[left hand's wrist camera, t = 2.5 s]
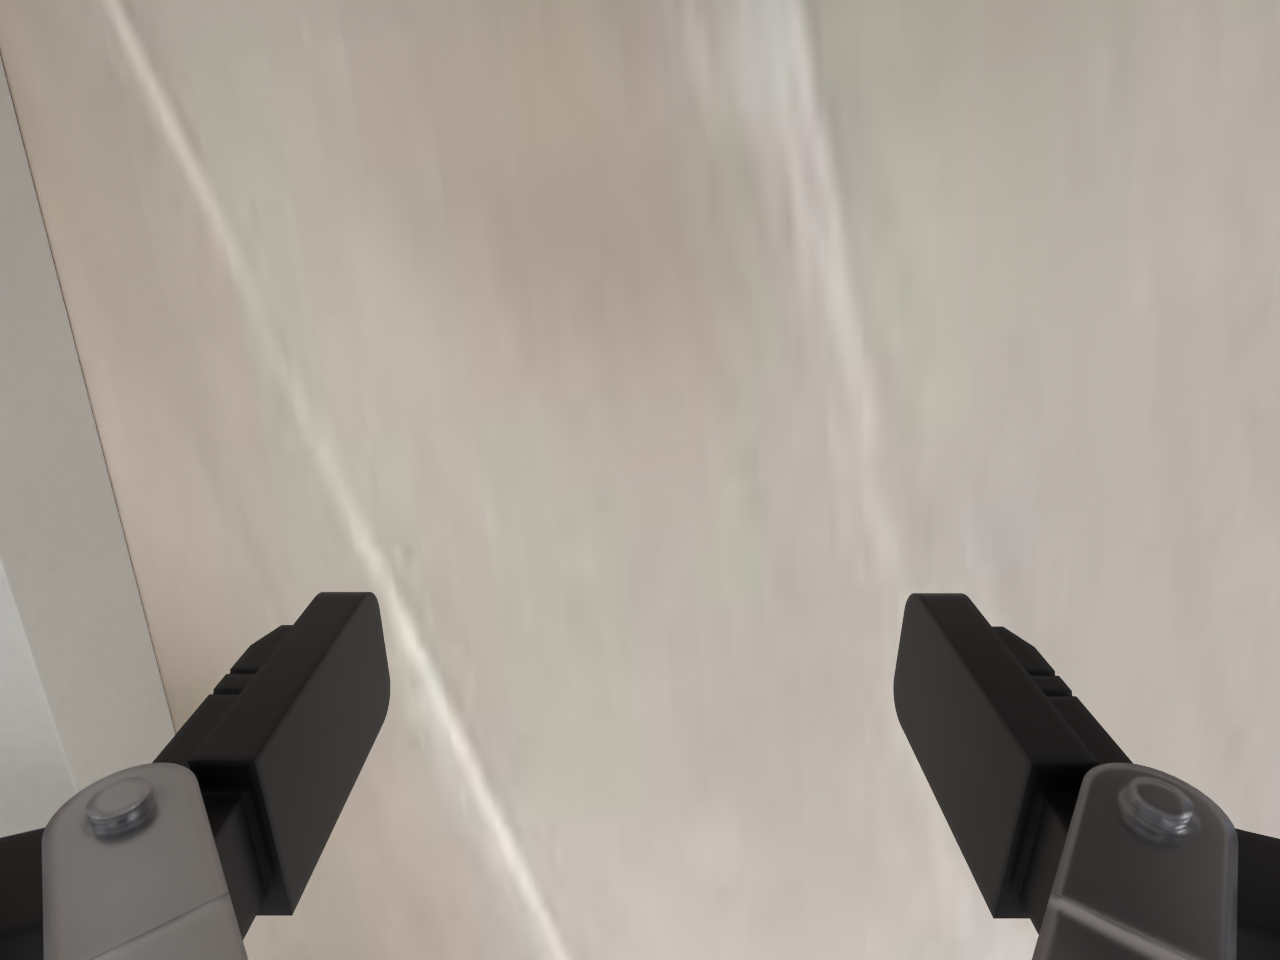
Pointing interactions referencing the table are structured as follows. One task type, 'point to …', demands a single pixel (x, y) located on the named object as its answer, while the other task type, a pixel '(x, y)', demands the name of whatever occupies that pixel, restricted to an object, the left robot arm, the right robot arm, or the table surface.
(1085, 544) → the table surface
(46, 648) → the bar
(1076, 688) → the table surface
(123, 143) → the table surface
